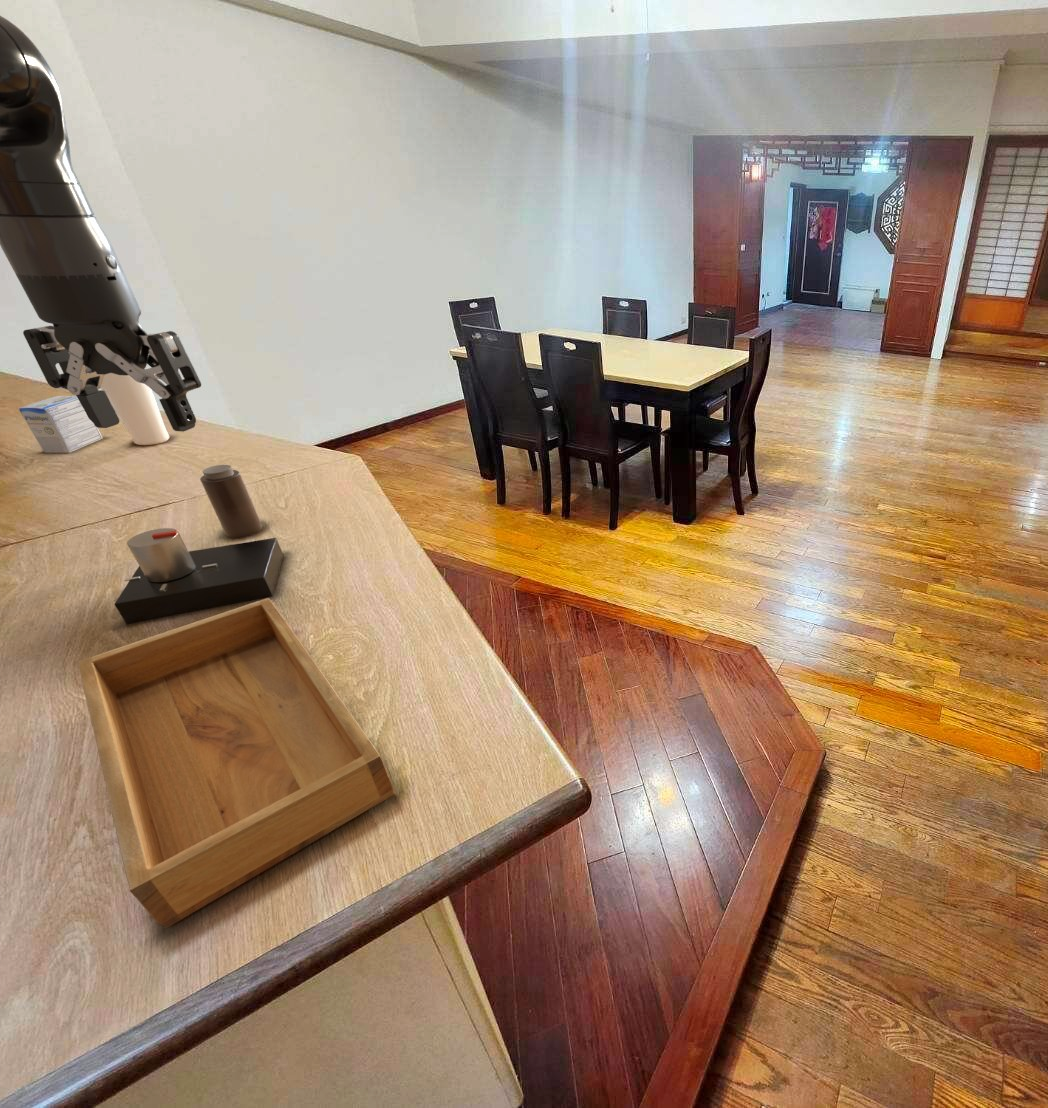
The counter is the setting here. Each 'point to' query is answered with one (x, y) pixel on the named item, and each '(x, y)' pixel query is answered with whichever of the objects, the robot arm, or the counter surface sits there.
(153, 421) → the white tall cup
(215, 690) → the tray
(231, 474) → the pepper mill
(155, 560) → the stove knob
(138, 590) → the stove panel
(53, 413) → the medicine box
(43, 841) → the counter surface
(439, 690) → the counter surface
